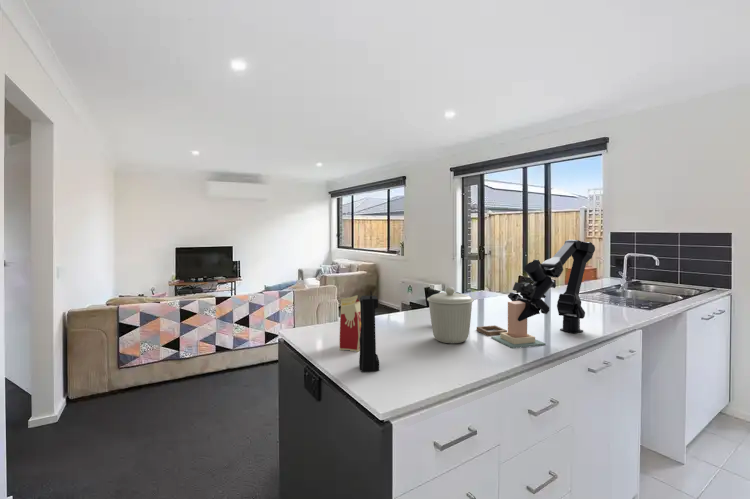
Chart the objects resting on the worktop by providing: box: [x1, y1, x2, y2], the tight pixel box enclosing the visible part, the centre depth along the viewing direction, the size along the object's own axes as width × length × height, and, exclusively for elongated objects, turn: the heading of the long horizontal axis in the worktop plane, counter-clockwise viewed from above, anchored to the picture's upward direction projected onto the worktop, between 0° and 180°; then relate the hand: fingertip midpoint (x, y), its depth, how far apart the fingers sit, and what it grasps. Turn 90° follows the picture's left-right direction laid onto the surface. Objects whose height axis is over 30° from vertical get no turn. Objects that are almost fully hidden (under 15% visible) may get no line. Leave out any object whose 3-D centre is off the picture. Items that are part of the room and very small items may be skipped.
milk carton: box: [339, 294, 361, 353], centre depth 136 cm, size 9×9×20 cm
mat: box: [490, 331, 546, 349], centre depth 140 cm, size 14×14×3 cm
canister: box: [426, 286, 475, 344], centre depth 143 cm, size 18×18×21 cm
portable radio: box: [358, 291, 380, 373], centre depth 115 cm, size 8×6×25 cm
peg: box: [507, 300, 528, 338], centre depth 139 cm, size 5×5×13 cm
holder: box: [476, 324, 508, 337], centre depth 154 cm, size 9×9×2 cm
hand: (514, 318), depth 139 cm, fingers closed on peg, 5 cm apart
